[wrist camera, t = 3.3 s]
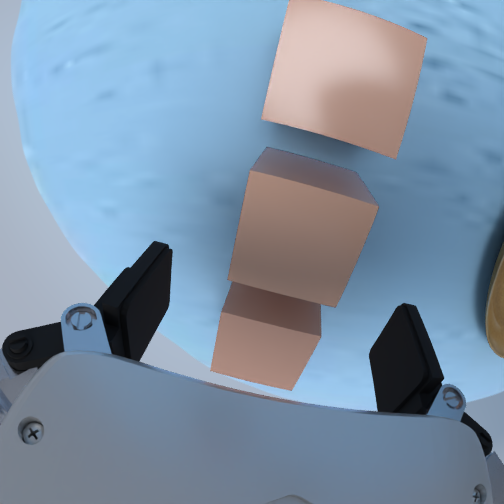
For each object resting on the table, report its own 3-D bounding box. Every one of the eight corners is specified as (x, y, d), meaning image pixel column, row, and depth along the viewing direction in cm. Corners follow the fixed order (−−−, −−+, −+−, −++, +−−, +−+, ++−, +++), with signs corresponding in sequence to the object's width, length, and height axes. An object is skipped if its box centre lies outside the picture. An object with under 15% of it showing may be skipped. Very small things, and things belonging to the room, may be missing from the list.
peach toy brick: (294, 27, 15) (290, -7, 9) (388, 55, 15) (427, 38, 9) (274, 112, 19) (260, 119, 13) (366, 139, 18) (395, 159, 12)
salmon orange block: (242, 255, 24) (221, 311, 18) (319, 275, 24) (321, 336, 18) (229, 313, 28) (210, 370, 22) (296, 330, 27) (291, 390, 21)
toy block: (266, 146, 20) (249, 169, 14) (356, 172, 20) (379, 206, 14) (248, 228, 23) (227, 279, 17) (329, 250, 23) (335, 307, 17)
